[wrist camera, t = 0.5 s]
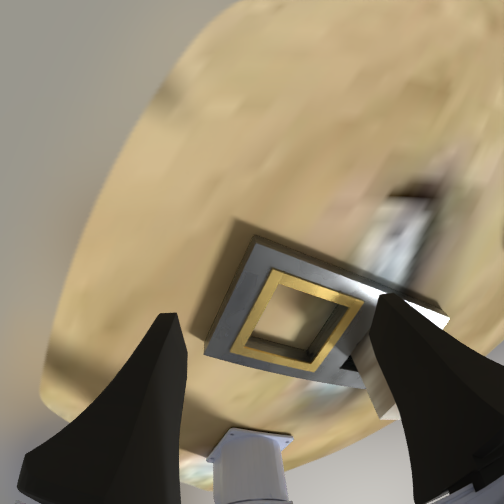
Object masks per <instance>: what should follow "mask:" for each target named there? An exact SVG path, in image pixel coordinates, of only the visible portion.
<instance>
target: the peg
mask: <svg viewBox="0 0 504 504" xmlns="http://www.w3.org/2000/svg"><path fill="white" fill-rule="evenodd" d="M370 328H371V327H370ZM369 331H370V329H369V330H368V331H367V333H366V334H365V335H364V337H363V338H362V340H361V341H360V342H359V344H358V345H357V346H356V348H355V349H354V350H353V352H352V353H351V354H350V355H351V357H352V359H353V361H354V363H355V365H356V367H357V370H358V372H359V374H360V376H361V378H362V381H363V383H364V385H365V387H366V389H367V392H368V394H369V396H370V398H371V401H372V403H373V405H374V408H375V410H376V412H377V414H378V417H379V419H393V420H401V417H400V414H399V411H398V408H397V405H396V402H395V400H394V398H393V395H392V393H391V391H390V389H389V386H388V384H387V382H386V380H385V377H384V375H383V373H382V371H381V368H380V366H379V364H378V362H377V359H376V357H375V354H374V351H373V347H372V344H371V341H370V337H369Z"/></svg>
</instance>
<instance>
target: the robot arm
mask: <svg viewBox="0 0 504 504" xmlns="http://www.w3.org/2000/svg"><path fill="white" fill-rule="evenodd" d="M369 337H370V341H371V344H372V347H373V351H374V354H375V357H376V359H377V362H378V364H379V366H380V368H381V371H382V373H383V375H384V377H385V380H386V382H387V384H388V386H389V389H390V391H391V393H392V395H393V398H394V400H395V402H396V405H397V408H398V411H399V414H400V417H401V421H402V425H403V428H404V432H405V436H406V441H407V446H408V451H409V456H410V463H411V470H412V478H413V496H414V502H415V504H427V503H429V502H431V501H433V500H435V499H437V498H440V497H442V496H444V495H446V494H448V493H449V494H450V495H449V496H446V497H445V498H442V499H440V500H438V501H436V502H434V503H432V504H504V366H503V365H501V364H499V363H496V362H494V361H492V360H490V359H488V358H486V357H485V356H483V355H481V354H479V353H477V352H476V351H474V350H472V349H471V348H469V347H467V346H466V345H464V344H463V343H461V342H459V341H458V340H457V339H455V338H454V337H452V336H451V335H449V334H448V333H447V332H445V331H444V330H442V329H441V328H440V327H438V326H437V325H436V324H434V323H433V322H432V321H430V320H429V319H428V318H427V317H425V316H424V315H423V314H421V313H420V312H419V311H418V310H416V309H415V308H414V307H412V306H411V305H410V304H409V303H407V302H406V301H405V300H403V299H402V298H401V297H399V296H398V295H396V294H395V293H386V294H379V298H378V301H377V305H376V309H375V313H374V317H373V320H372V324H371V328H370V331H369ZM187 356H188V352H187V348H186V345H185V341H184V338H183V334H182V331H181V327H180V323H179V319H178V316H177V313H160V314H159V315H158V316H157V318H156V319H155V321H154V322H153V324H152V325H151V327H150V328H149V330H148V332H147V333H146V335H145V336H144V338H143V339H142V341H141V342H140V344H139V345H138V346H137V348H136V349H135V351H134V352H133V354H132V355H131V356H130V358H129V359H128V361H127V362H126V363H125V365H124V366H123V367H122V368H121V370H120V371H119V372H118V374H117V375H116V376H115V378H114V379H113V380H112V381H111V382H110V384H109V385H108V386H107V387H106V388H105V389H104V391H103V392H102V393H101V394H100V395H99V396H98V397H97V398H96V399H95V400H94V401H93V402H92V403H91V404H90V405H89V406H88V407H87V408H86V409H85V410H84V411H83V412H82V413H81V414H80V415H79V416H78V417H77V418H76V419H74V420H73V421H72V422H71V423H70V424H68V425H67V426H66V427H65V428H63V429H62V430H61V431H60V432H59V433H57V434H56V435H55V436H53V437H52V438H50V439H49V440H47V441H46V442H44V443H43V444H41V445H40V446H38V447H36V448H35V449H33V450H32V451H30V452H28V453H27V454H25V457H24V460H23V464H22V468H21V472H20V475H19V479H18V484H17V488H18V490H19V491H20V492H21V493H23V494H24V495H26V496H28V497H30V498H32V499H33V500H35V501H37V502H39V503H41V504H181V497H180V480H179V433H180V424H181V416H182V409H183V402H184V395H185V388H186V380H187ZM293 440H294V438H293V436H289V435H280V434H272V433H265V432H258V431H251V430H245V429H239V428H230V429H229V430H228V432H227V433H226V434H225V436H224V437H223V438H222V439H221V441H220V442H219V443H218V445H217V446H216V447H215V448H214V450H213V451H212V452H211V453H210V455H209V456H208V457H207V458H206V461H207V462H209V463H213V494H214V502H215V504H293V502H292V501H289V500H288V493H287V486H286V480H285V474H284V468H283V461H282V455H281V451H282V450H283V449H284V448H285V447H286V446H288V445H289V444H290V443H291V442H292V441H293ZM15 504H25V503H22V502H20V501H18V500H16V501H15Z"/></svg>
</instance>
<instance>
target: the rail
mask: <svg viewBox="0 0 504 504" xmlns="http://www.w3.org/2000/svg"><path fill="white" fill-rule="evenodd" d="M278 284H282V285H285V286H287V287H290V288H293V289H296V290H299V291H302V292H305V293H308V294H311V295H314V296H317V297H320V298H323V299H326V300H329V301H332V302H335V303H338V305H337V307H336V308H335V310H334V311H333V313H332V314H331V316H330V317H329V319H328V320H327V322H326V323H325V325H324V327H323V328H322V330H321V331H320V332H319V334H318V335H317V337H316V338H315V340H314V341H313V343H312V344H311V346H310V347H309V349H308V350H307V351H306V350H302V349H298V348H294V347H290V346H286V345H282V344H278V343H275V342H271V341H267V340H264V339H260V338H256V337H253V336H250V335H251V333H252V331H253V330H254V328H255V326H256V324H257V322H258V321H259V319H260V317H261V315H262V313H263V311H264V310H265V308H266V306H267V304H268V302H269V300H270V299H271V297H272V295H273V293H274V291H275V289H276V287H277V286H278ZM386 293H395V294H396V295H398V296H399V297H401V298H402V299H403V300H405V301H406V302H407V303H409V304H410V305H411V306H412V307H414V308H415V309H416V310H418V311H419V312H420V313H421V314H423V315H424V316H425V317H427V318H428V319H429V320H430V321H432V322H433V323H434V324H436V325H437V326H438V327H440V328H441V329H443V328H444V326H445V325H446V324H447V322H448V321H449V319H450V318H449V317H448V315H447V314H446V313H445V312H444V311H443V310H442V309H439V308H437V307H434V306H432V305H430V304H427V303H425V302H422V301H420V300H418V299H415V298H413V297H410V296H408V295H406V294H403V293H401V292H398V291H396V290H393V289H391V288H388V287H386V286H384V285H381V284H379V283H376V282H374V281H371V280H369V279H366V278H364V277H361V276H359V275H356V274H354V273H351V272H349V271H346V270H344V269H341V268H339V267H336V266H334V265H331V264H329V263H326V262H324V261H321V260H319V259H316V258H314V257H311V256H309V255H306V254H304V253H301V252H298V251H296V250H293V249H291V248H288V247H286V246H283V245H280V244H278V243H275V242H273V241H270V240H268V239H265V238H262V237H260V236H257V235H255V234H254V236H253V238H252V240H251V242H250V244H249V246H248V249H247V251H246V253H245V255H244V257H243V259H242V262H241V264H240V266H239V268H238V270H237V272H236V275H235V277H234V279H233V281H232V283H231V285H230V288H229V290H228V292H227V294H226V296H225V299H224V301H223V303H222V305H221V307H220V309H219V312H218V314H217V316H216V318H215V320H214V323H213V325H212V327H211V329H210V331H209V333H208V336H207V338H206V340H205V342H204V355H206V356H210V357H213V358H217V359H220V360H224V361H228V362H232V363H235V364H239V365H243V366H247V367H251V368H255V369H260V370H264V371H268V372H273V373H277V374H282V375H286V376H291V377H296V378H301V379H306V380H312V381H317V382H323V383H329V384H334V385H341V386H347V387H354V388H361V389H366V387H365V385H364V383H363V381H362V378H361V376H360V374H359V372H358V370H357V367H356V365H355V363H354V361H350V360H346V359H347V358H348V357H349V356H350V354H351V353H352V352H353V350H354V349H355V348H356V346H357V345H358V344H359V342H360V341H361V340H362V338H363V337H364V335H365V334H366V333H367V331H368V330H369V329H370V327H371V324H372V320H373V317H374V313H375V309H376V305H377V301H378V298H379V294H386Z"/></svg>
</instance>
